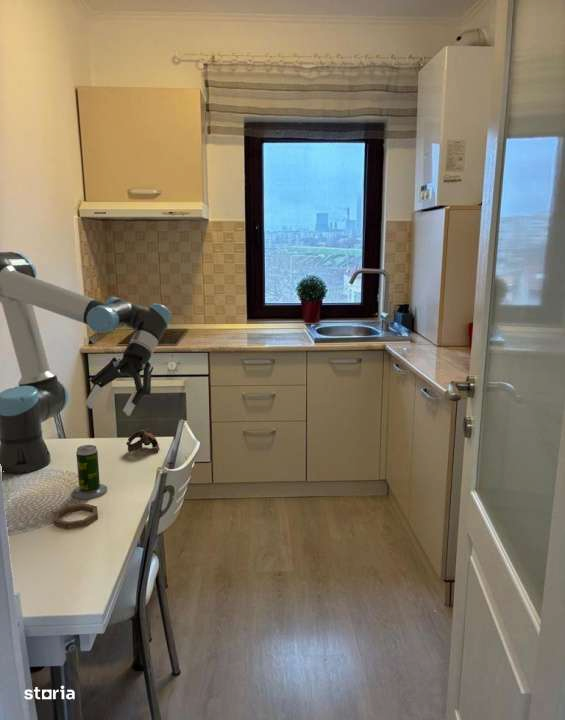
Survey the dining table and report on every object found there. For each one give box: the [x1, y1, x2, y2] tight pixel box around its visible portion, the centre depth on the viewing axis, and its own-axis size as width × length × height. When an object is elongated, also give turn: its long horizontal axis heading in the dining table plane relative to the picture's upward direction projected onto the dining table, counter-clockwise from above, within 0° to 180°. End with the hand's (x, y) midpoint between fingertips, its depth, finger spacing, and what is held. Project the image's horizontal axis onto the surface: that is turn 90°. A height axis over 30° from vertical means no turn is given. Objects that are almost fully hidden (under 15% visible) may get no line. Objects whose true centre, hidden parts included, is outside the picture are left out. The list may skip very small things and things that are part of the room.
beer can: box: [76, 444, 101, 494], centre depth 148 cm, size 5×5×12 cm
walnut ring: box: [53, 503, 99, 531], centre depth 134 cm, size 10×10×2 cm
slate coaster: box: [71, 483, 108, 500], centre depth 149 cm, size 9×9×1 cm
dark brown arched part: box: [126, 428, 160, 453], centre depth 180 cm, size 12×10×8 cm
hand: (106, 409), depth 154 cm, fingers open, 13 cm apart
